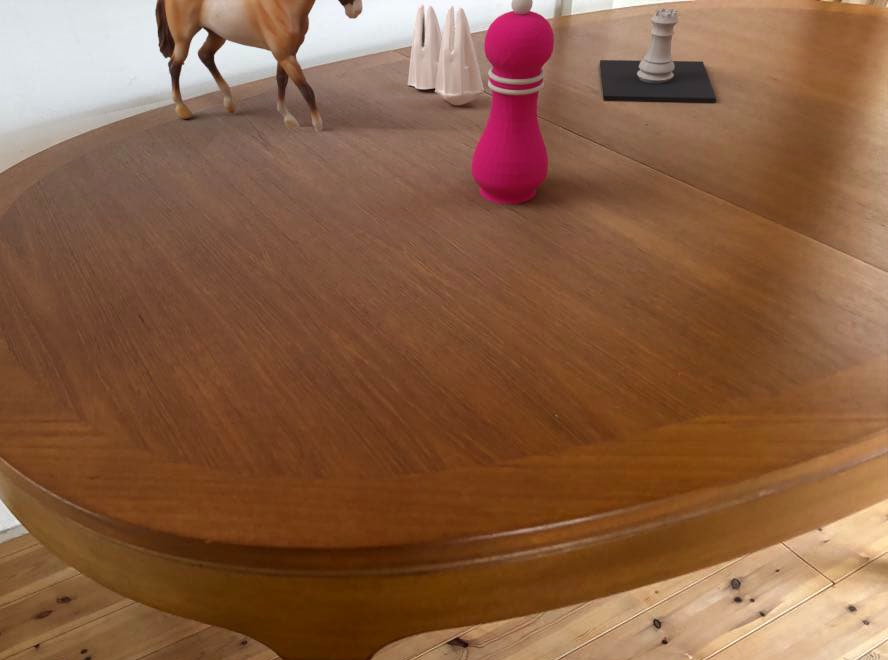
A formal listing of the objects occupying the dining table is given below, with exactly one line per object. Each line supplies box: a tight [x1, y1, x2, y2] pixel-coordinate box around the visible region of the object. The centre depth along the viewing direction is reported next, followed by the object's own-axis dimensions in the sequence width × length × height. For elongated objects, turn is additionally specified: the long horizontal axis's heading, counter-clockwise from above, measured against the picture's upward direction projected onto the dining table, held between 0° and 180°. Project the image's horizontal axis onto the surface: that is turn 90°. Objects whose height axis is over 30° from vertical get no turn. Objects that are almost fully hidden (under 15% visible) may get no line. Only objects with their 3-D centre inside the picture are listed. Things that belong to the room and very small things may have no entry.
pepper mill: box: [470, 0, 555, 205], centre depth 81 cm, size 7×7×20 cm
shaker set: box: [407, 3, 485, 106], centre depth 108 cm, size 12×4×11 cm, turn 28°
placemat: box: [599, 59, 717, 104], centre depth 112 cm, size 13×13×1 cm
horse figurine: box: [154, 0, 363, 132], centre depth 101 cm, size 31×8×21 cm, turn 56°
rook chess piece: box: [637, 7, 680, 83], centre depth 109 cm, size 4×4×8 cm
